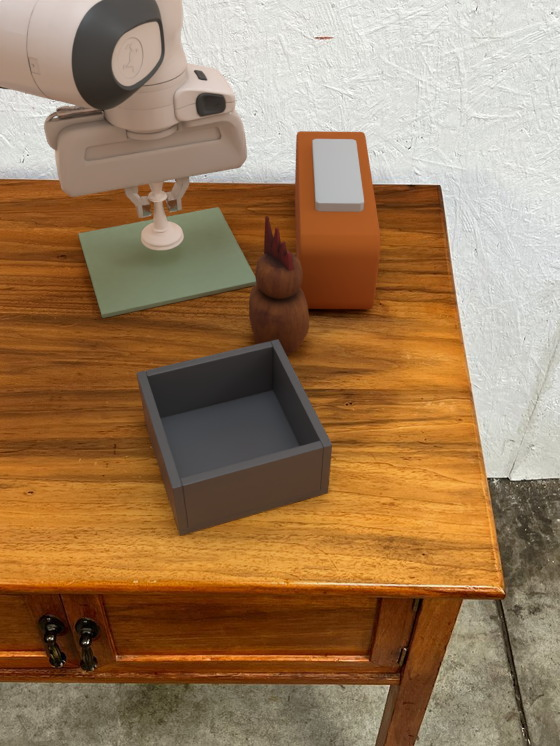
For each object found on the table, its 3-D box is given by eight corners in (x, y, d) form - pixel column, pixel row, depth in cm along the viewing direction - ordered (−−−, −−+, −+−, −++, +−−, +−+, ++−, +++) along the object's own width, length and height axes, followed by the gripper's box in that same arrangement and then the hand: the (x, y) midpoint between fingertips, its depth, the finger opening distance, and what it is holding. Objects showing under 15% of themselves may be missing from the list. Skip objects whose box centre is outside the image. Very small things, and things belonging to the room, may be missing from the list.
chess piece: (184, 225, 92) (177, 149, 85) (182, 250, 89) (174, 172, 81) (143, 225, 92) (132, 149, 85) (139, 251, 88) (127, 173, 81)
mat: (102, 318, 85) (101, 314, 85) (78, 237, 96) (77, 233, 95) (257, 285, 90) (257, 281, 89) (218, 210, 100) (218, 206, 100)
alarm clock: (372, 317, 86) (383, 231, 78) (297, 316, 86) (300, 231, 78) (357, 196, 103) (365, 116, 94) (294, 196, 102) (296, 115, 94)
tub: (179, 536, 66) (172, 488, 61) (145, 421, 75) (136, 372, 70) (328, 493, 69) (332, 444, 64) (278, 388, 78) (278, 338, 73)
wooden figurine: (243, 328, 84) (239, 210, 74) (294, 317, 86) (297, 201, 75) (261, 370, 80) (259, 252, 69) (314, 358, 81) (320, 240, 70)
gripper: (44, 125, 73) (71, 245, 83) (250, 93, 78) (252, 210, 88) (35, 95, 77) (62, 213, 87) (232, 67, 82) (236, 181, 92)
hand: (159, 211), depth 88 cm, fingers closed on chess piece
